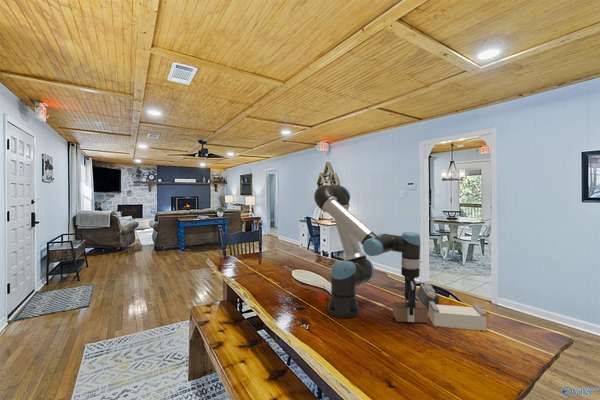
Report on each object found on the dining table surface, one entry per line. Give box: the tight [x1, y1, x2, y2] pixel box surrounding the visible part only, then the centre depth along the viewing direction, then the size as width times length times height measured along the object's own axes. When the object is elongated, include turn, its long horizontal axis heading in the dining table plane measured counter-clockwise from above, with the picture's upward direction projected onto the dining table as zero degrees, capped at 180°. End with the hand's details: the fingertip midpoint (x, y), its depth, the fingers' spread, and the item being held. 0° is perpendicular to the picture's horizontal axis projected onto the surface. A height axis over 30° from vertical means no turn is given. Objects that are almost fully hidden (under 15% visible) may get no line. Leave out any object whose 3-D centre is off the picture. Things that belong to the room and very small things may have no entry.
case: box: [392, 301, 428, 324], centre depth 121 cm, size 13×6×6 cm, turn 86°
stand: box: [428, 301, 488, 332], centre depth 117 cm, size 20×9×7 cm, turn 77°
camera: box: [416, 281, 440, 311], centre depth 138 cm, size 9×16×10 cm, turn 169°
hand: (409, 317), depth 121 cm, fingers closed on case, 6 cm apart
